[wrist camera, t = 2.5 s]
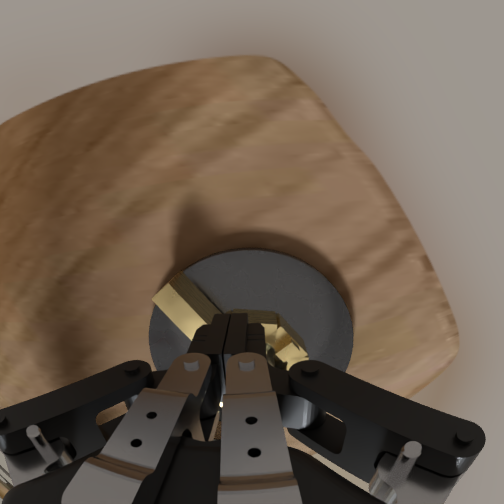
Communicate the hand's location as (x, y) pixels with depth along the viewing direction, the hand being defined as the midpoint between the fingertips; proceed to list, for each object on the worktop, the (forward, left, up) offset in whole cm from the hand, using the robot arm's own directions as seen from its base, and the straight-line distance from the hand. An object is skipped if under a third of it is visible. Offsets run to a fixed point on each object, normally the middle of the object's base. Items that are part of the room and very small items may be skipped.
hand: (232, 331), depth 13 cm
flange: (-6, -8, -16) cm, 18 cm away
